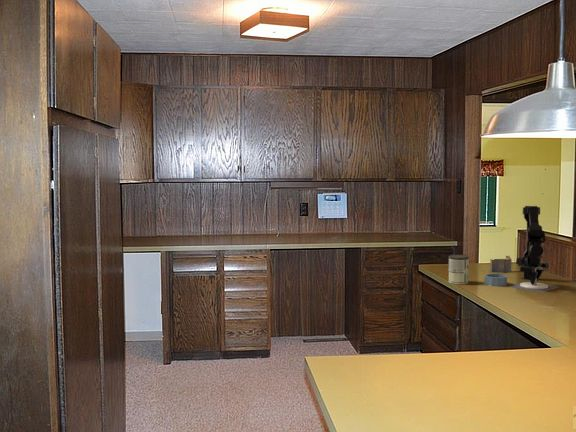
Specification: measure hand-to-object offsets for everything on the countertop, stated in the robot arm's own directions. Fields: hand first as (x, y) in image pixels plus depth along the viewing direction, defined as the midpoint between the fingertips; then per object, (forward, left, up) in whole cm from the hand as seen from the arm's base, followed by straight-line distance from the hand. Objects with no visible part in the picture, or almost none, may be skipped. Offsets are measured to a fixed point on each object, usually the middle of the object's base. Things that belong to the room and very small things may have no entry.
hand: (533, 283), depth 299 cm
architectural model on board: (-28, -34, -3) cm, 44 cm away
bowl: (+7, -17, -2) cm, 19 cm away
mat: (0, 0, -2) cm, 2 cm away
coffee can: (+15, -34, -2) cm, 37 cm away
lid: (0, 0, -2) cm, 2 cm away
